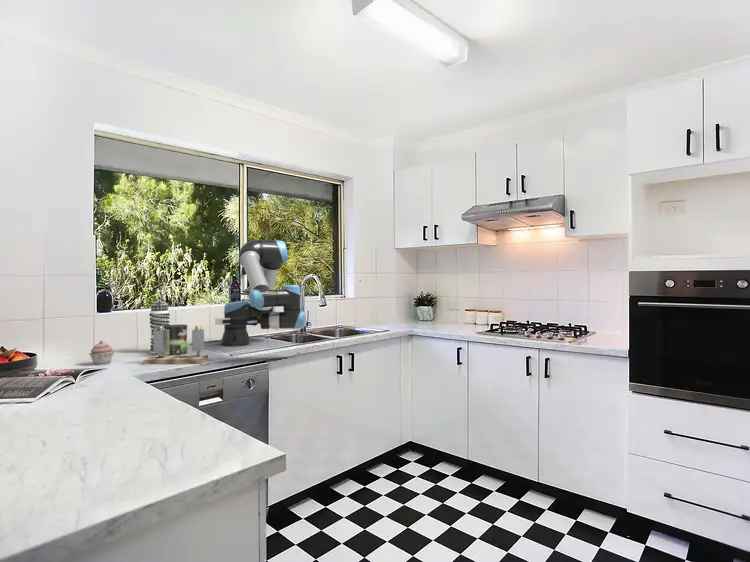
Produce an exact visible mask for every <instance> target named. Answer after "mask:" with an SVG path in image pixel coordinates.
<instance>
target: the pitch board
mask: <svg viewBox="0 0 750 562" xmlns="http://www.w3.org/2000/svg"><path fill="white" fill-rule="evenodd" d="M208 360H209V355H208V354H200V356H196V354H187V355H175V356H164V355H162V358H158V355H152V356H150V357H147V358H144V359H143V363H142V364H164V365H196V364H197V365H198V364H199V365H201V364H204V363H205V362H206V361H208Z"/></svg>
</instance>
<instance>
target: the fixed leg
mask: <svg viewBox="0 0 750 562" xmlns="http://www.w3.org/2000/svg"><path fill="white" fill-rule="evenodd" d="M153 347H154V352H158V355H157V356H158V358H162V356H163V353H162V352H163V351H166V350H167V337H166V330H163V326H158V327H157V330H155V331H153Z"/></svg>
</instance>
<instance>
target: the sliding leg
mask: <svg viewBox="0 0 750 562" xmlns="http://www.w3.org/2000/svg"><path fill="white" fill-rule="evenodd" d="M204 350H205V329H204V328H202V325H195V326H194V329H192V330H191V351H192V352H195V353H196V354H195V355H196V356H200V355H201V352H203V351H204Z"/></svg>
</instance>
